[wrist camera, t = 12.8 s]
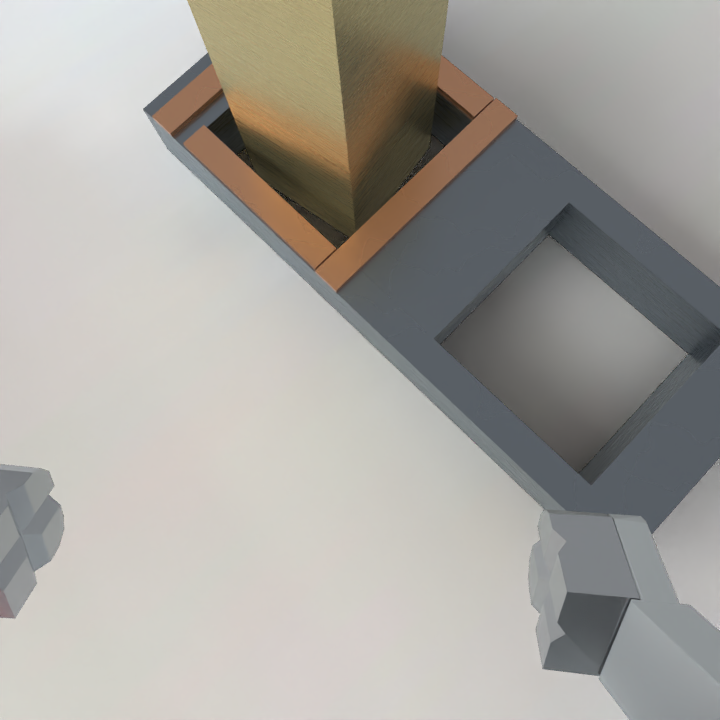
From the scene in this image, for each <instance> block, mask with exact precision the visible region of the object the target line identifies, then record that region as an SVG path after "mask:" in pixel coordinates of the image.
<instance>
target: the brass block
mask: <svg viewBox="0 0 720 720" xmlns="http://www.w3.org/2000/svg"><path fill="white" fill-rule="evenodd" d="M187 1H188V3H189V6H190V8H191V11H192V13H193V16H194V18H195V21H196V23H197V26H198V28H199V31H200V34H201V36H202V39H203V41H204V44H205V46H206V49H207V51H208V54H209V56H210V59H211V61H212V64H213V66H214V69H215V71H216V74H217V76H218V79H219V81H220V84H221V87H222V89H223V92H224V94H225V97H226V99H227V102H228V104H229V107H230V109H231V112H232V114H233V117H234V119H235V122H236V124H237V127H238V129H239V132H240V135H241V137H242V140H243V142H244V145H245V147H246V150H247V152H248V155H249V157H250V160H251V162H252V165H253V167H254V170H255V172H256V174H257V175H258V176H259V177H261V178H262V179H263V180H264V181H265V182H266V183H268V184H269V185H271V186H272V187H274V188H275V189H277V190H278V191H280V192H281V193H283V194H284V195H286V196H287V197H289V198H290V199H292V200H293V201H295V202H296V203H298V204H299V205H301V206H302V207H304V208H305V209H307V210H308V211H310V212H311V213H313V214H314V215H316V216H317V217H319V218H320V219H322V220H324V221H325V222H327V223H328V224H330V225H331V226H333V227H334V228H336V229H337V230H339V231H340V232H342V233H343V234H345V235H346V236H348V237H349V238H350V237H351V236H352V235H353V234H354V233H355V232H356V231H357V230H358V229H359V228H360V227H361V226H362V225H364V224H365V223H366V222H367V221H368V220H369V219H370V218H371V217H372V216H373V215H374V214H375V213H376V212H377V211H378V210H379V209H380V208H381V207H382V206H383V205H385V204H386V203H387V202H388V201H389V200H390V199H391V198H392V196H393V195H394V194H395V192H396V191H397V190H398V188H399V187H400V186H401V184H402V183H403V182H404V180H405V179H406V178H407V176H408V175H409V174H410V173H411V171H412V170H413V169H414V167H415V166H416V165H417V163H418V162H419V161H420V159H421V158H422V157H423V155H424V154H425V153H426V151H427V150H428V149H429V147H430V139H431V131H432V123H433V116H434V108H435V100H436V93H437V85H438V77H439V69H440V62H441V54H442V46H443V39H444V31H445V23H446V15H447V8H448V0H187Z"/></svg>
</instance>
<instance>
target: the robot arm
mask: <svg viewBox="0 0 720 720" xmlns="http://www.w3.org/2000/svg"><path fill="white" fill-rule="evenodd" d="M53 487H54V483H53V480H52V477H51V475H50V472H49V471H48V470H45V469H42V468H33V467H24V466H15V465H6V464H0V618H16V616H17V615H18V613H19V611H20V610H21V608H22V607H23V605H24V603H25V602H26V600H27V599H28V597H29V595H30V594H31V592H32V591H33V589H34V587H35V586H36V584H37V581H36V576H35V571H36V570H38V569H39V568H41V567H42V566H44V565H45V564H47V563H48V562H50V561H51V560H52V558H53V556H54V555H55V553H56V551H57V550H58V548H59V546H60V542H61V539H62V535H63V531H64V515H63V511H62V508H61V505H60V504H59V503H58V502H56V501H55V500H54V499H53V498H52V497H51V496H50V495H49V493H50V492H51V490H52V489H53ZM538 531H539V536H540V540H539V541H538V542H537V543H535V544H534V545H533V546H532V550H531V555H530V559H529V573H528V581H529V592H530V599H531V605H532V606H533V607H534V608H535V609H536V610H537V611H538V612H539V613H540V615H539V619H538V623H537V626H536V635H537V641H538V646H539V652H540V657H541V663H542V669H546V670H555V671H563V672H571V673H579V674H587V675H595V676H599V680H600V681H601V683H602V684H603V685H604V687H605V688H606V689H607V691H608V692H609V693H610V695H611V696H612V697H613V699H614V700H615V701H616V703H617V704H618V705H619V707H620V708H621V709H622V711H623V712H624V713H625V715H626V716H627V717H628V718H629V720H720V631H719V630H718V629H717V628H716V627H714V626H713V625H712V624H711V623H710V622H709V621H708V620H707V619H705V618H704V617H703V616H702V615H701V614H700V613H699V612H697V611H696V610H695V609H694V608H693V607H692V606H691V605H687V604H680V603H679V601H678V598H677V596H676V593H675V591H674V589H673V586H672V584H671V581H670V579H669V576H668V574H667V571H666V569H665V566H664V564H663V562H662V559H661V557H660V554H659V552H658V549H657V547H656V544H655V542H654V539H653V537H652V534H651V532H650V530H649V527H648V525H647V522H646V521H645V520H644V519H643V518H642V517H641V516H633V515H619V514H603V513H590V512H576V511H562V510H548V509H544V510H543V512H542V514H541V515H540V519H539V523H538Z"/></svg>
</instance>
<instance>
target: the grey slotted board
mask: <svg viewBox="0 0 720 720" xmlns="http://www.w3.org/2000/svg"><path fill="white" fill-rule="evenodd" d="M493 100H494V98H493V97H492V96H491V95H490V94H488V93H487V92H486V91H485V90H483V89H482V88H481V87H480V86H479V85H477V84H476V83H475V82H474V81H473V80H471V79H470V78H469V77H468V76H466V75H465V74H464V73H463V72H462V71H460V70H459V69H458V68H457V67H456V66H454V65H453V64H452V63H451V62H449V61H448V60H447V59H446V58H445V57H443V56H442V55H441V62H440V69H439V77H438V85H437V93H436V100H435V108H434V116H433V123H432V131H431V134H432V135H434V136H435V137H436V138H437V139H438V140H439V141H441V142H442V143H443V144H444V145H445V147H444V148H443V149H442V150H441V151H440V152H439V153H438V154H437V155H436V156H435V157H434V158H433V159H432V160H431V161H430V162H429V163H428V164H426V165H425V166H424V167H423V168H422V169H421V170H420V171H419V172H418V173H417V174H416V175H415V176H414V177H413V178H412V179H411V180H410V181H409V182H408V183H407V184H405V185H404V186H403V187H402V188H401V189H400V190H399V191H398V192H397V193H396V194H395V195H394V196H393V197H392V198H391V199H390V200H389V201H388V202H387V203H386V204H385V205H383V206H382V207H381V208H380V209H379V210H378V211H377V212H376V213H375V214H374V215H373V216H372V217H371V218H370V219H369V220H368V221H367V222H366V223H365V224H364V225H362V226H361V227H360V228H359V229H358V230H357V231H356V232H355V233H354V234H353V235H352V236H351V237H350V238H349V239H348V240H347V241H346V242H345V243H344V244H343V245H341V246H340V247H339V248H338V249H337V248H336V247H335V246H333V245H332V244H331V243H330V242H329V241H328V240H327V239H326V238H325V237H324V236H323V235H322V234H321V233H320V232H318V231H317V230H316V229H315V228H314V227H313V226H312V225H311V224H310V223H309V222H308V221H307V220H306V219H305V218H303V217H302V216H301V215H300V214H299V213H298V212H297V211H296V210H295V209H294V208H293V207H292V206H291V205H290V204H288V203H287V202H286V201H285V200H284V199H283V198H282V197H281V196H280V195H279V194H278V193H277V192H276V191H274V190H273V189H272V188H271V187H270V186H269V185H268V184H267V183H266V182H265V181H264V180H263V179H262V178H261V177H259V176H258V175H257V174H256V173H255V172H254V171H253V170H252V169H251V168H250V167H249V166H248V165H247V164H246V163H244V162H243V161H242V160H241V159H240V158H239V157H238V156H237V154H238V153H239V152H241V151H242V150H243V149H244V148H245V145H244V142H243V140H242V137H241V135H240V132H239V129H238V127H237V124H236V122H235V119H234V117H233V114H232V112H231V109H230V107H229V104H228V102H227V99H226V97H225V94H224V92H223V89H222V87H221V84H220V81H219V79H218V76H217V74H216V71H215V69H214V66H213V64H212V61H211V59H210V56H209V54H208V53H207V54H206V55H205V56H204V57H203V58H201V59H200V60H199V61H198V62H197V63H196V64H195V65H193V66H192V67H191V68H190V69H189V70H188V71H186V72H185V73H184V74H183V75H182V76H181V77H180V78H178V79H177V80H176V81H175V82H174V83H173V84H171V85H170V86H169V87H168V88H167V89H166V90H165V91H163V92H162V93H161V94H160V95H159V96H158V97H156V98H155V99H154V100H153V101H152V102H151V103H150V104H148V105H147V106H146V107H145V108H144V109H143V110H144V112H145V113H146V115H147V116H148V118H149V120H150V121H151V123H152V124H153V126H154V128H155V129H156V131H157V133H158V134H159V136H160V137H161V139H162V141H163V142H164V144H165V145H166V147H167V149H168V150H169V151H170V152H171V153H172V154H174V155H175V156H176V157H177V158H178V159H179V160H180V161H181V162H182V163H183V164H184V165H185V166H186V167H187V168H188V169H189V170H190V171H191V172H192V173H193V174H194V175H195V176H197V177H198V178H199V179H200V180H201V181H202V182H203V183H204V184H205V185H206V186H207V187H208V188H209V189H210V190H211V191H212V192H213V193H214V194H215V195H216V196H217V197H219V198H220V199H221V200H222V201H223V202H224V203H225V204H226V205H227V206H228V207H229V208H230V209H231V210H232V211H233V212H234V213H235V214H236V215H237V216H238V217H239V218H240V219H242V220H243V221H244V222H245V223H246V224H247V225H248V226H249V227H250V228H251V229H252V230H253V231H254V232H255V233H256V234H257V235H258V236H259V237H260V238H261V239H262V240H263V241H265V242H266V243H267V244H268V245H269V246H270V247H271V248H272V249H273V250H274V251H275V252H276V253H277V254H278V255H279V256H280V257H281V258H282V259H283V260H284V261H285V262H286V263H288V264H289V265H290V266H291V267H292V268H293V269H294V270H295V271H296V272H297V273H298V274H299V275H300V276H301V277H302V278H303V279H304V280H305V281H306V282H307V283H308V284H309V285H311V286H312V287H313V288H314V289H315V290H316V291H317V292H318V293H319V294H320V295H321V296H322V297H323V298H324V299H325V300H326V301H327V302H328V303H329V304H330V305H331V306H332V307H334V308H335V309H336V310H337V311H338V312H339V313H340V314H341V315H342V316H343V317H344V318H345V319H346V320H347V321H348V322H349V323H350V324H351V325H352V326H353V327H354V328H356V329H357V330H358V331H359V332H360V333H361V334H362V335H363V336H364V337H365V338H366V339H367V340H368V341H369V342H370V343H371V344H372V345H373V346H374V347H375V348H376V349H377V350H379V351H380V352H381V353H382V354H383V355H384V356H385V357H386V358H387V359H388V360H389V361H390V362H391V363H392V364H393V365H394V366H395V367H396V368H397V369H398V370H399V371H400V372H402V373H403V374H404V375H405V376H406V377H407V378H408V379H409V380H410V381H411V382H412V383H413V384H414V385H415V386H416V387H417V388H418V389H419V390H420V391H421V392H422V393H423V394H425V395H426V396H427V397H428V398H429V399H430V400H431V401H432V402H433V403H434V404H435V405H436V406H437V407H438V408H439V409H440V410H441V411H442V412H443V413H444V414H445V415H446V416H448V417H449V418H450V419H451V420H452V421H453V422H454V423H455V424H456V425H457V426H458V427H459V428H460V429H461V430H462V431H463V432H464V433H465V434H466V435H467V436H468V437H469V438H471V439H472V440H473V441H474V442H475V443H476V444H477V445H478V446H479V447H480V448H481V449H482V450H483V451H484V452H485V453H486V454H487V455H488V456H489V457H490V458H491V459H493V460H494V461H495V462H496V463H497V464H498V465H499V466H500V467H501V468H502V469H503V470H504V471H505V472H506V473H507V474H508V475H509V476H510V477H511V478H512V479H513V480H514V481H516V482H517V483H518V484H519V485H520V486H521V487H522V488H523V489H524V490H525V491H526V492H527V493H528V494H529V495H530V496H531V497H532V498H533V499H534V500H535V501H536V502H537V503H539V504H540V505H541V506H542V507H543V508H544V509H548V510H562V511H576V512H590V513H603V514H619V515H633V516H641V517H642V518H643V519H644V520H645V521H646V522H647V525H648V527H649V530H650V532H651V534H652V533H653V532H654V531H655V530H656V529H657V528H658V527H659V525H660V524H661V523H662V522H663V521H664V520H665V519H666V518H667V516H668V515H669V514H670V513H671V512H672V511H673V510H674V508H675V507H676V506H677V505H678V504H679V503H680V502H681V501H682V499H683V498H684V497H685V496H686V495H687V494H688V493H689V492H690V490H691V489H692V488H693V487H694V486H695V485H696V484H697V482H698V481H699V480H700V479H701V478H702V477H703V476H704V475H705V473H706V472H707V471H708V470H709V469H710V468H711V467H712V466H713V464H714V463H715V462H716V461H717V460H718V459H719V458H720V287H719V286H718V285H717V284H715V283H714V282H713V281H712V280H711V279H709V278H708V277H707V276H706V275H705V274H703V273H702V272H701V271H700V270H698V269H697V268H696V267H695V266H694V265H692V264H691V263H690V262H689V261H688V260H686V259H685V258H684V257H683V256H681V255H680V254H679V253H678V252H677V251H675V250H674V249H673V248H672V247H671V246H669V245H668V244H667V243H666V242H664V241H663V240H662V239H661V238H660V237H658V236H657V235H656V234H655V233H654V232H652V231H651V230H650V229H649V228H647V227H646V226H645V225H644V224H643V223H641V222H640V221H639V220H638V219H637V218H635V217H634V216H633V215H632V214H630V213H629V212H628V211H627V210H626V209H624V208H623V207H622V206H621V205H620V204H618V203H617V202H616V201H615V200H613V199H612V198H611V197H610V196H609V195H607V194H606V193H605V192H604V191H603V190H601V189H600V188H599V187H598V186H597V185H595V184H594V183H593V182H592V181H590V180H589V179H588V178H587V177H586V176H584V175H583V174H582V173H581V172H580V171H578V170H577V169H576V168H575V167H573V166H572V165H571V164H570V163H569V162H567V161H566V160H565V159H564V158H563V157H561V156H560V155H559V154H558V153H556V152H555V151H554V150H553V149H552V148H550V147H549V146H548V145H547V144H546V143H544V142H543V141H542V140H541V139H539V138H538V137H537V136H536V135H535V134H533V133H532V132H531V131H530V130H529V129H527V128H526V127H525V126H524V125H522V124H521V123H520V122H519V121H518V120H516V119H517V115H516V114H515V113H514V112H513V111H511V110H510V109H509V108H508V107H506V106H505V105H504V104H503V103H502V102H500V101H499V100H498V99H497V98H496V99H495V100H494V101H493ZM548 235H550V236H552V237H553V238H554V239H555V240H556V241H558V242H559V243H560V244H561V245H562V246H563V247H565V248H566V249H567V250H568V251H569V252H570V253H572V254H573V255H574V256H575V257H576V258H577V259H579V260H580V261H581V262H582V263H583V264H584V265H586V266H587V267H588V268H589V269H590V270H591V271H593V272H594V273H595V274H596V275H597V276H598V277H600V278H601V279H602V280H603V281H604V282H605V283H607V284H608V285H609V286H610V287H611V288H612V289H614V290H615V291H616V292H617V293H618V294H619V295H621V296H622V297H623V298H624V299H625V300H626V301H628V302H629V303H630V304H631V305H632V306H633V307H635V308H636V309H637V310H638V311H639V312H640V313H642V314H643V315H644V316H645V317H646V318H647V319H649V320H650V321H651V322H652V323H653V324H654V325H656V326H657V327H658V328H659V329H660V330H662V331H663V332H664V333H665V334H666V335H667V336H669V337H670V338H671V339H672V340H673V341H674V342H676V343H677V344H678V345H679V346H680V347H681V348H683V349H684V350H685V351H686V352H687V353H688V355H687V356H686V357H685V359H684V360H683V361H682V362H681V363H680V364H679V365H678V366H677V367H676V368H675V369H674V371H673V372H672V373H671V374H670V375H669V376H668V377H667V378H666V379H665V380H664V381H663V382H662V384H661V385H660V386H659V387H658V388H657V389H656V390H655V391H654V392H653V393H652V394H651V396H650V397H649V398H648V399H647V400H646V401H645V402H644V403H643V404H642V405H641V406H640V408H639V409H638V410H637V411H636V412H635V413H634V414H633V415H632V416H631V417H630V418H629V419H628V421H627V422H626V423H625V424H624V425H623V426H622V427H621V428H620V429H619V430H618V431H617V433H616V434H615V435H614V436H613V437H612V438H611V439H610V440H609V441H608V442H607V443H606V445H605V446H604V447H603V448H602V449H601V450H600V451H599V452H598V453H597V454H596V455H595V456H594V458H593V459H592V460H591V461H590V462H589V463H588V464H587V465H586V466H585V467H584V468H583V470H582V471H581V472H580V473H579V474H578V473H577V472H576V471H575V470H574V469H573V468H572V467H571V466H570V465H568V464H567V463H566V462H565V461H564V460H563V459H562V458H561V457H560V456H559V455H558V454H557V453H556V452H555V451H553V450H552V449H551V448H550V447H549V446H548V445H547V444H546V443H545V442H544V441H543V440H542V439H541V438H539V437H538V436H537V435H536V434H535V433H534V432H533V431H532V430H531V429H530V428H529V427H528V426H527V425H526V424H524V423H523V422H522V421H521V420H520V419H519V418H518V417H517V416H516V415H515V414H514V413H513V412H512V411H511V410H509V409H508V408H507V407H506V406H505V405H504V404H503V403H502V402H501V401H500V400H499V399H498V398H497V397H496V396H494V395H493V394H492V393H491V392H490V391H489V390H488V389H487V388H486V387H485V386H484V385H483V384H482V383H480V382H479V381H478V380H477V379H476V378H475V377H474V376H473V375H472V374H471V373H470V372H469V371H468V370H467V369H465V368H464V367H463V366H462V365H461V364H460V363H459V362H458V361H457V360H456V359H455V358H454V357H453V356H452V355H450V354H449V353H448V352H447V351H446V350H445V349H444V348H443V347H442V346H441V345H440V344H441V343H442V342H443V341H444V340H445V339H446V338H447V337H448V336H449V335H450V334H451V333H452V332H453V331H454V330H455V329H456V328H457V327H458V326H459V325H460V324H461V323H462V322H463V320H464V319H465V318H466V317H467V316H468V315H469V314H470V313H471V312H472V311H473V310H474V309H475V308H476V307H477V306H478V305H479V304H480V303H481V302H482V301H483V300H484V299H485V298H486V297H487V296H488V295H489V294H490V293H491V292H492V291H493V290H494V289H495V288H496V287H497V286H498V285H499V284H500V283H501V282H502V281H503V280H504V279H505V278H506V277H507V276H508V275H509V274H510V273H511V272H512V271H513V270H514V269H515V268H516V267H517V266H518V265H519V264H520V263H521V262H522V261H523V260H524V259H525V258H526V257H527V256H528V255H529V254H530V253H531V252H532V251H533V250H534V249H535V248H536V247H537V246H538V245H539V244H540V243H541V242H542V241H543V240H544V239H545V238H546V237H547V236H548Z"/></svg>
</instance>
